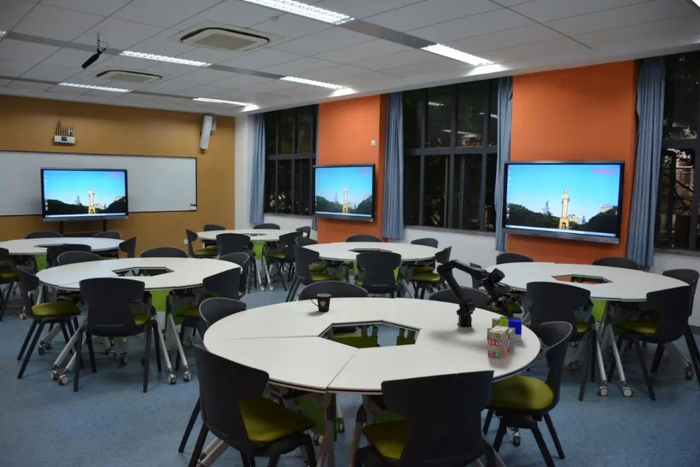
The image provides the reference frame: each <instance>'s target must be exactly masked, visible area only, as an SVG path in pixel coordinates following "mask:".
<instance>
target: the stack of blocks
mask: <svg viewBox="0 0 700 467" xmlns="http://www.w3.org/2000/svg"><path fill="white" fill-rule="evenodd" d="M487 341H488V344H487V345H488V346H487V348H488V349H487V357H488V358H491V359H497V360H502V359H503V358H505V356H506V355H507V354H508V353H509V352H510V351H511V350H512V349H513V348H514V341H513V329H509V327H503V326H495V327H494V328H493V329H492V330H490V331H489V339H488V340H487Z"/></svg>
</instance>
